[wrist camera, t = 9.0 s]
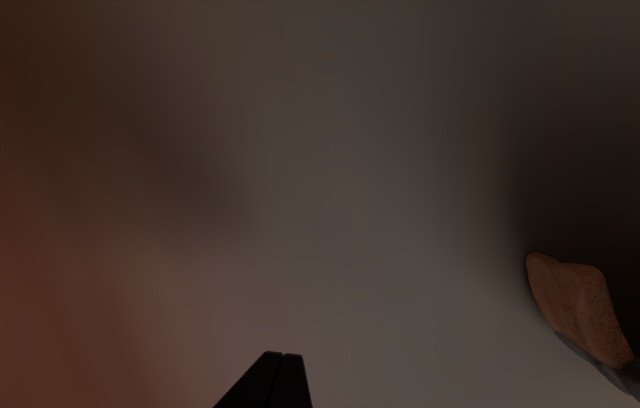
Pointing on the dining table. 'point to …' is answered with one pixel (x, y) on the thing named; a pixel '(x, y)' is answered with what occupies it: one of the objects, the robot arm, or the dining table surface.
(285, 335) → the dining table surface
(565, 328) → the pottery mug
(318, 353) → the dining table surface
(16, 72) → the dining table surface
